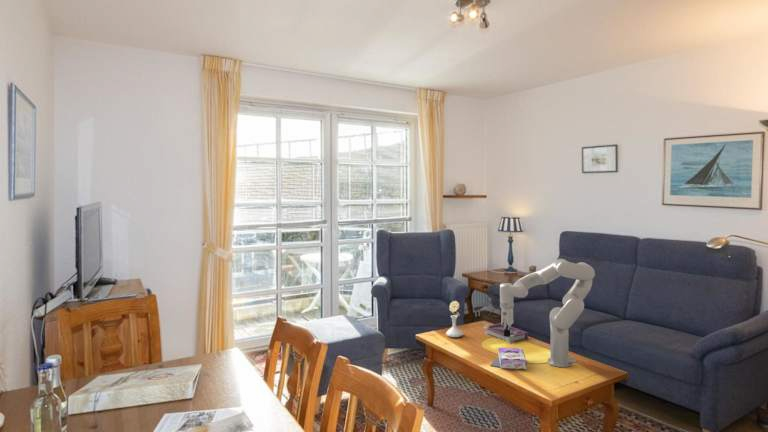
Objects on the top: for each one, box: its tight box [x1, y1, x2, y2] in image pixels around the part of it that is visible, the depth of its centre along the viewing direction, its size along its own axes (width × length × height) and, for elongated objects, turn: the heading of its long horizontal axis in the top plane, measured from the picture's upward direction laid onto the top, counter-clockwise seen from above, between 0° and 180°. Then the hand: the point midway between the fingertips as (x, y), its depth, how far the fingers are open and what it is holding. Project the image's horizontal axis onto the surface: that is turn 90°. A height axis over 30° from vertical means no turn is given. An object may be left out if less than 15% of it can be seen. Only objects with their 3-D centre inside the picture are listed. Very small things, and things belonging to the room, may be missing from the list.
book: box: [483, 322, 529, 344], centre depth 299 cm, size 25×16×5 cm, turn 27°
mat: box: [489, 357, 517, 371], centre depth 251 cm, size 14×12×1 cm
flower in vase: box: [445, 300, 464, 338], centre depth 301 cm, size 13×11×25 cm
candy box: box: [497, 347, 527, 370], centre depth 251 cm, size 14×6×16 cm
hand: (507, 336), depth 255 cm, fingers closed
